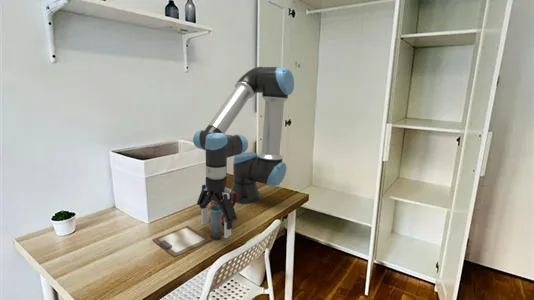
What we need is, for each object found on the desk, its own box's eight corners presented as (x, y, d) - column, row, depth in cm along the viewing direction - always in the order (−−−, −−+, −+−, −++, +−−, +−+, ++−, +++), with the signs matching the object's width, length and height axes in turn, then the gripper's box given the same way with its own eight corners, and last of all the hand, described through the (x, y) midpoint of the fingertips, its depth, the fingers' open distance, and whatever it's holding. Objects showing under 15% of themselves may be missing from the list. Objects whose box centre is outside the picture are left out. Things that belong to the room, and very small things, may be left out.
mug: (215, 227, 118) (215, 196, 115) (205, 218, 125) (205, 189, 122) (242, 219, 126) (242, 190, 123) (231, 212, 133) (231, 184, 130)
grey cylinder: (216, 233, 114) (216, 204, 111) (223, 237, 112) (224, 208, 109) (208, 237, 111) (208, 208, 108) (215, 241, 109) (215, 211, 106)
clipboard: (187, 226, 118) (187, 223, 118) (210, 240, 109) (210, 237, 109) (152, 240, 107) (152, 236, 107) (174, 257, 98) (174, 253, 98)
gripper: (187, 170, 111) (188, 221, 116) (231, 188, 95) (230, 246, 100) (203, 166, 116) (203, 215, 121) (247, 182, 100) (246, 238, 105)
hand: (215, 229), depth 111 cm, fingers open, 13 cm apart
